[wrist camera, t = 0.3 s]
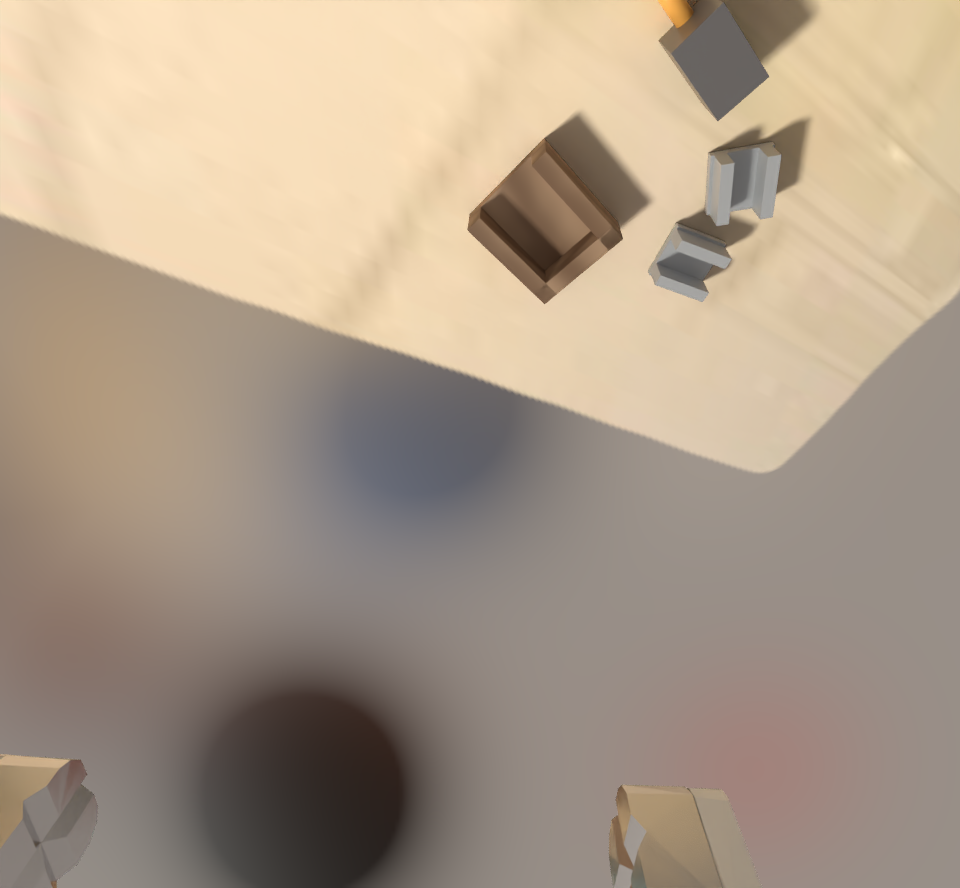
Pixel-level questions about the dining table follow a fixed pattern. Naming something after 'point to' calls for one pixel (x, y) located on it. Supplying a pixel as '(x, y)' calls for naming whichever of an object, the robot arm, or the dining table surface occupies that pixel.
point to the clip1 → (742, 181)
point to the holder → (544, 223)
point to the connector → (711, 54)
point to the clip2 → (688, 261)
